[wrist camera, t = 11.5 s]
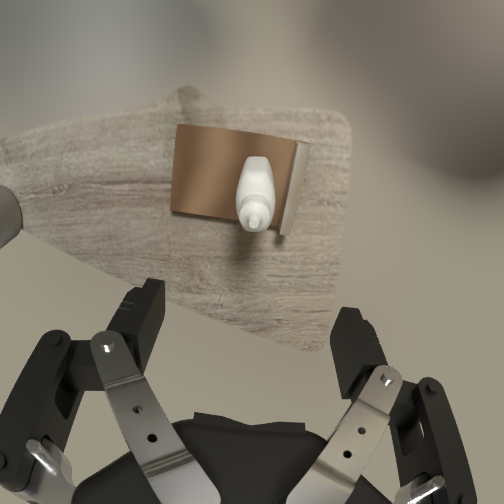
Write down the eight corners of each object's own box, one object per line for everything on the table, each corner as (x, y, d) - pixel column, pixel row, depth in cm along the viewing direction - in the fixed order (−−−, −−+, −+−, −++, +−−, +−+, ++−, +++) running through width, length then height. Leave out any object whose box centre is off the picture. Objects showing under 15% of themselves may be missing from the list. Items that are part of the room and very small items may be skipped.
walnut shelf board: (172, 207, 35) (165, 216, 32) (179, 124, 30) (171, 126, 28) (289, 225, 36) (291, 236, 33) (307, 142, 31) (311, 146, 28)
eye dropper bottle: (227, 192, 33) (209, 241, 22) (251, 148, 31) (245, 176, 20) (261, 211, 34) (261, 266, 23) (287, 168, 32) (300, 206, 21)
